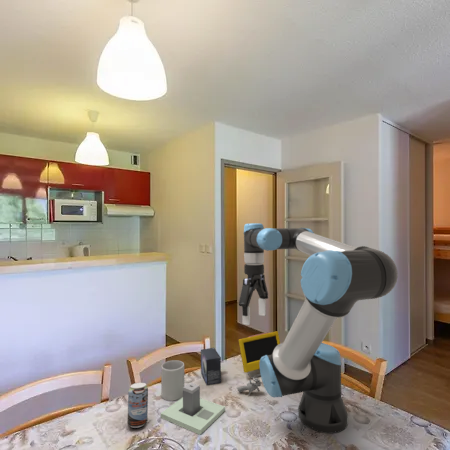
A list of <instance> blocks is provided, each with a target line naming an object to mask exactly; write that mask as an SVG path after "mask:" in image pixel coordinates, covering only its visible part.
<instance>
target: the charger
mask: <svg viewBox="0 0 450 450" xmlns="http://www.w3.org/2000/svg"><path fill="white" fill-rule="evenodd" d="M200 398H201V386H200V384H197V383H194V382H189V383H187V384H185V385H184V387H183V412H182V413H185V414H187V415H190V416H192V417H193V416H194V415H195V414H196V413H197V412H199V411H200Z"/></svg>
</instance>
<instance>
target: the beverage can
mask: <svg viewBox="0 0 450 450" xmlns="http://www.w3.org/2000/svg"><path fill="white" fill-rule="evenodd" d="M148 404H149V387H148V385H147V383H145V382H134V383H132V384H131V385H130V387H129V389H128V391H127V423H126V424H127V425H128V426H129V427H131V428H134V429H136V428H137V429H139V428H141V427H143V426H145V424H146V423H147V422H148V411H149V410H148V409H149V407H148V406H149V405H148Z"/></svg>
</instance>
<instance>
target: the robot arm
mask: <svg viewBox="0 0 450 450" xmlns="http://www.w3.org/2000/svg"><path fill="white" fill-rule="evenodd" d="M243 250H244V251H243V252H244V254H243V257H244V260H243V261H244V263H245V264H244V267H243V269H244V271H243V273H244V274H245V275H246V276H247V278H245V277H243V278H242V279H243V280H242V287H241V291H240V297H239V302H238V306H239V307H241V308H242V311H241V312H242V318H241V319H242V325H246V326H250V325H251V308H250V307H251V306H249V305H250V303H251V300H252V297H253V293H254V292H255V291H256V292H257V295H258V296H259V298H258V316H263V317H265V316H266V315H267V314H266V312H267V310H266V308H267V307H266V306H267V303H266V300H267V299H269V292H268V287H267V283H266V278H265V277H266V276H265V265H264V263H265V253H264V252H265V251H267V252H268V251H275V250H296V251H298V252H301V253H303V254H306V255H308V258H307V259H306V260H305V262H304V263H303V265H302V268H301V272H300V276H301V279H300V286H301V290H302V293H303V296H304V301H303V303H302V304H301V305H302V306H301V307H300V309H299V311H298V314H297V316H296V317H295V319H294V320H293V323H292V325H291V327H290V329H289V331H288V333H287V334H286V337H285V339H284V340H283V342H280V344H279V345H277V346H276V347H275V349H274V351H273V353H272V354H271V355H268V356H267V355H265V356H263V357H261V359H260V374H261V376H260V378H261V383H262V384H263V387H264V389H265V391H266V393H267V394H268V396H269V397H271V398H283V397H286V396H291V395H295V394H300V393H302V395H301V397H300V398H301V399H300V401H299V404H298V419H299V420H300V422H301V423H302V424H304V425H305V426H306V427H307V428H309V429H311V430H314V431H316V432H320V433H325V434H326V433H327V434H331V433H332V434H333V433H340V432H342V431H344V430H345V429H346V428H347V426H348V424H349V423H348V419H349V418H348V412H347V409H346V407H345V403H344V400H343V397H342V362H341V361H342V360H341V353H340V351H339V349H337V348H336V347H334V346H333V345H330V344H328V343H327V344H326V343H324V342H323V341H324V340H325V338H326V336H327V335H328V333H329V332H330V330H331V329H332V327H333V325H334V324H335V322H336V321H337V320H338V319H340V318H344V317H346V316H347V315H349V313H350V311H351V310H352V309H353V307H354V305H355V304H356V303H357V302H358V301H364V300H365V301H366V300H373V299H375V300H376V299H379V298H382V297H384V296H386V295H388V294H389V293H390V292H392V290H393V289H394V288H395V286H396V284H397V282H398V277H399V276H398V274H399V273H398V268H397V265H396V263H395V261H394V260H393V259H392V258H391V256H390V255H388V254H387V253H385V252H384V251H381V250H378V249H375V248H372V247H369V246H364V245H360V246H353V245H350V244H347V243H344V242H341V241H338V240H335V239H332V238H330V237H329V238H328V237H327V236H323V235H320V234H317V233H314V231H313V230H312V229H311V228H308V227H307V228H306V227H298V228H297V227H295V228H289V227H288V228H285V227H284V228H281V227H280V228H279V227H278V228H272V227H266V228H264V225H263V224H262V223H255V222H254V223H245V224H244V226H243Z"/></svg>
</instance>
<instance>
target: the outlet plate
mask: <svg viewBox="0 0 450 450" xmlns="http://www.w3.org/2000/svg"><path fill="white" fill-rule="evenodd" d="M225 411H226V406H225V405H221V404H218V403H217V402H216V403H215V402H213V401H210V400H207V399H205V398H203V397H200V411H199V412H197V413H196V414H195V415H194V416H193V417H192V416H190V415H187V414H185V413H183V397H182V398H180V399H178V400H176V401H175V402H174V403H173V404H171V405H170V406H169V407H167V408H166V409H164V410H163V411H162V412H161V413H160V419H163V420H166V421H168V422H170V423H171V424H175V425H176V426H179V427H181V428H184V429H186V430H188V431H190V432H193V433H195V434H197V435H200V436H201V435H202V434H203V433H204V432H205V431H206V430H207V429H208V428H209V427H210V426H212V424H213V423H214V422H215V421H216V420H218V419H219V417H220V416H221V415H223V413H225Z"/></svg>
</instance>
